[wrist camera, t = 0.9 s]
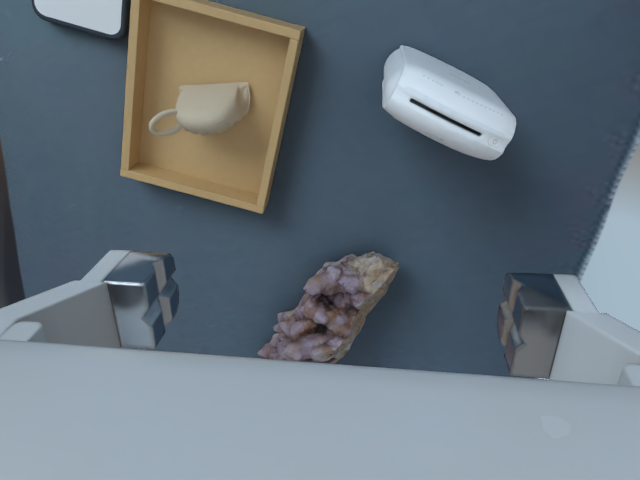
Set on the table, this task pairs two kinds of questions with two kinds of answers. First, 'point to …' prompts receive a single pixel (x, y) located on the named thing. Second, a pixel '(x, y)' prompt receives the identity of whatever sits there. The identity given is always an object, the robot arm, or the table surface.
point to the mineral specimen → (331, 310)
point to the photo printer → (446, 104)
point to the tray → (198, 69)
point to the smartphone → (88, 15)
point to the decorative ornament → (206, 108)
